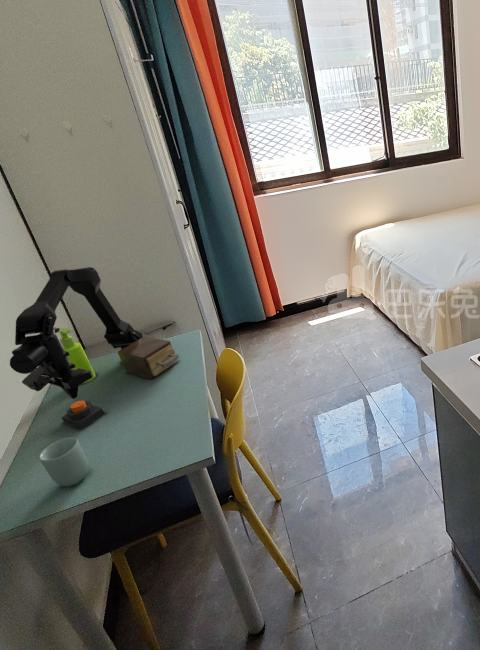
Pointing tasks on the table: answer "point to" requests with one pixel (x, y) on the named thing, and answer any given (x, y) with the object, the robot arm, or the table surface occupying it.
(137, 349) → the cabinet
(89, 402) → the control block
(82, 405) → the button
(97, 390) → the table surface
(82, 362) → the soap dispenser
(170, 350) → the drawer
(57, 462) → the cup
